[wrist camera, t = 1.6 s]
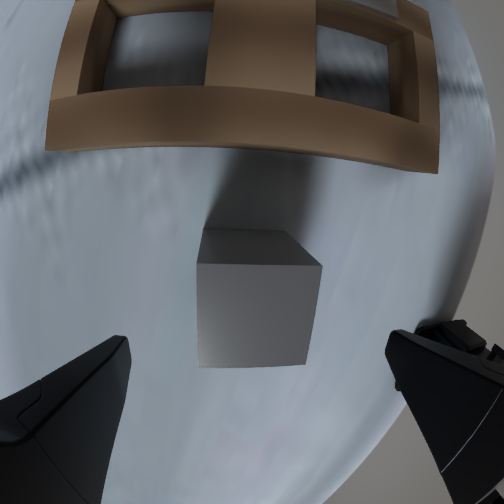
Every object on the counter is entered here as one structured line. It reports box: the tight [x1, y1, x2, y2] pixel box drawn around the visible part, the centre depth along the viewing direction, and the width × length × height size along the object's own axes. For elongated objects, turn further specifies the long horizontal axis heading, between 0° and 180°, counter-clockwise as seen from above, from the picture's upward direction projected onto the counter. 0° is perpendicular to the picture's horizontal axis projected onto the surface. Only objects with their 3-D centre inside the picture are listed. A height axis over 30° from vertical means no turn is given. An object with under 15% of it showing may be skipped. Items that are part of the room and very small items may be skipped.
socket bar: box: [45, 0, 440, 174], centre depth 11 cm, size 11×20×3 cm, turn 86°
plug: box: [197, 228, 322, 368], centre depth 13 cm, size 4×4×6 cm
